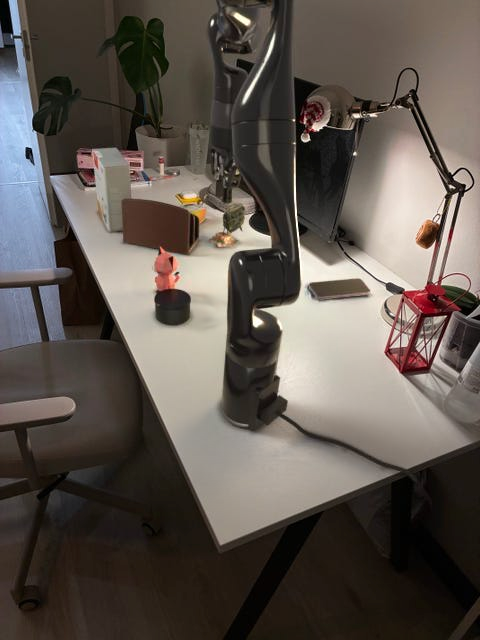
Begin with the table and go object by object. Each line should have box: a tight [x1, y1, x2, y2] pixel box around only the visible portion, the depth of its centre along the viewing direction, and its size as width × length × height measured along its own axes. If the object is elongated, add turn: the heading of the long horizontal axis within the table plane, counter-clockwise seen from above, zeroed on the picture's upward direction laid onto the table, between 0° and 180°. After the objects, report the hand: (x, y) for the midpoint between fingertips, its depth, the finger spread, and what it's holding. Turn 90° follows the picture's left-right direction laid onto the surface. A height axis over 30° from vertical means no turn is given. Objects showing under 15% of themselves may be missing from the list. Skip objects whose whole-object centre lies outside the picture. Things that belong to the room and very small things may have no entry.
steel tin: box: [153, 288, 192, 326], centre depth 116 cm, size 8×8×5 cm
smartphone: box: [308, 277, 371, 300], centre depth 132 cm, size 7×1×15 cm
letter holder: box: [121, 198, 200, 256], centre depth 143 cm, size 10×20×14 cm, turn 76°
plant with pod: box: [208, 178, 246, 248], centre depth 144 cm, size 8×11×20 cm
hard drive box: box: [91, 147, 133, 233], centre depth 150 cm, size 16×8×20 cm, turn 25°
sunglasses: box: [182, 203, 207, 225], centre depth 161 cm, size 14×15×5 cm
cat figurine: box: [153, 246, 180, 294], centre depth 121 cm, size 7×7×12 cm
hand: (223, 199), depth 117 cm, fingers open, 3 cm apart
